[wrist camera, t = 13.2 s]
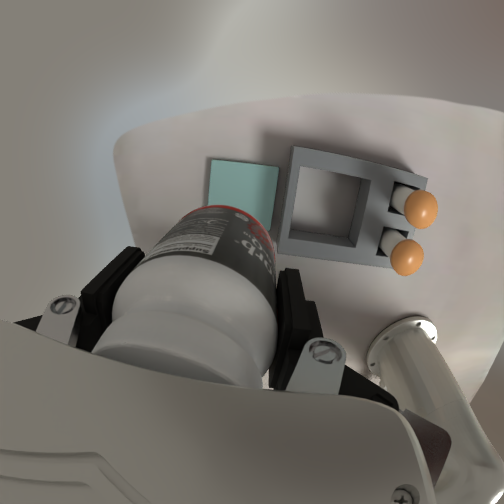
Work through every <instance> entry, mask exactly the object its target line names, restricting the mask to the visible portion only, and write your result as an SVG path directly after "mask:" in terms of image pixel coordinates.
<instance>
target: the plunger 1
mask: <svg viewBox="0 0 504 504" xmlns="http://www.w3.org/2000/svg"><path fill="white" fill-rule="evenodd" d="M389 205H390V206H391V207H393V208H394V209H396V210H397V211H399V212H400V213H402V214H403V215H405V218H406V220H407V221H408V222H409V223H410V224H411V225H412V226H414V227H415V228H418V229H424V228H427V227H428V226H430V225H431V224H432V223H433V222H434V220H435V218H436V216H437V212H438V205H437V201H436V199H435V197H434V196H433V195H432V194H431V193H429V192H427V191H424V190H416V191H415V190H413V189H410V188H408V187H406V186H403V185H401V184H399V183H394V185H393V189H392V194H391V198H390V203H389Z"/></svg>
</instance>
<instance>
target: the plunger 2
mask: <svg viewBox="0 0 504 504" xmlns="http://www.w3.org/2000/svg"><path fill="white" fill-rule="evenodd" d="M378 246H379V247H380V248H381V249H382V250H383V252H384V253H385V254H386V255H387V256H388V257H389V258H390V263H391V266H392V268H393V269H394V270H395V271H396V272H397V273H398V274H399V275H402V276H408V275H411V274H413V273H414V272H416V271H417V270H418V269H419V267H420V266H421V264H422V262H423V257H424V253H423V249H422V247H421V246H420V245H419V244H418V243H417V242H415V241H414V240H411V239H406V238H405V237H404V236H403V235H401V234H400V233H399V232H398V231H397V230H395V229H394V228H390V227H385V226H384V227H383V231H382V234H381V238H380V242H379V245H378Z"/></svg>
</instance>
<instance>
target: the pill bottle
mask: <svg viewBox="0 0 504 504" xmlns="http://www.w3.org/2000/svg"><path fill="white" fill-rule="evenodd" d="M277 342H278V310H277V295H276V271H275V254H274V248H273V244H272V241H271V238H270V236H269V234H268V232H267V231H266V229H265V228H264V227H263V225H262V224H261V223H260V222H259V221H258V220H257V219H256V218H255V217H253V216H252V215H251V214H249V213H248V212H246V211H244V210H242V209H239V208H237V207H233V206H229V205H220V204H216V205H207V206H203V207H200V208H198V209H195V210H193V211H192V212H190V213H188V214H187V215H186V216H184V217H183V218H182V219H181V220H180V221H179V222H178V223H177V224H176V225H175V226H174V227H173V228H172V229H171V230H170V231H169V232H168V233H167V234H166V235H165V236H164V237H163V238H162V239H161V240H160V241H159V242H158V244H157V245H156V246H155V247H154V248H153V249H152V250H151V251H150V252H149V253H148V254H147V255H146V256H145V257H144V258H143V260H142V261H141V262H140V263H139V264H138V265H137V266H136V267H135V268H134V269H133V270H132V272H131V273H130V274H129V275H128V276H127V277H126V279H125V280H124V282H123V283H122V285H121V286H120V288H119V290H118V292H117V294H116V296H115V299H114V303H113V309H112V323H111V324H110V326H109V327H108V328H107V329H106V330H105V332H104V333H103V335H102V336H101V338H100V339H99V341H98V342H97V344H96V346H95V347H94V349H93V350H92V352H91V353H94V354H97V355H100V356H103V357H107V358H110V359H113V360H117V361H120V362H123V363H127V364H131V365H134V366H138V367H142V368H146V369H150V370H154V371H158V372H163V373H167V374H172V375H177V376H181V377H187V378H192V379H197V380H203V381H208V382H214V383H221V384H227V385H234V386H242V387H250V388H260V389H262V387H263V384H262V377H263V376H264V374H265V373H266V372H267V370H268V369H269V367H270V365H271V364H272V361H273V359H274V356H275V353H276V349H277Z"/></svg>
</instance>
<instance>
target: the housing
mask: <svg viewBox="0 0 504 504" xmlns="http://www.w3.org/2000/svg"><path fill="white" fill-rule="evenodd" d="M300 166H303V167H309V168H315V169H320V170H326V171H331V172H336V173H341V174H346V175H351V176H355V177H360V178H361V183H360V188H359V193H358V198H357V203H356V207H355V212H354V216H353V221H352V225H351V229H350V233H349V237H348V238H345V237H338V236H332V235H325V234H318V233H311V232H304V231H297V230H290V225H291V219H292V213H293V207H294V201H295V195H296V189H297V183H298V177H299V170H300ZM427 180H428V178H426V177H423V176H420V175H417V174H414V173H410V172H407V171H404V170H400V169H397V168H393V167H390V166H386V165H382V164H378V163H374V162H370V161H366V160H362V159H358V158H354V157H349V156H345V155H340V154H335V153H331V152H326V151H320V150H315V149H310V148H304V147H298V146H291V153H290V160H289V167H288V174H287V180H286V187H285V194H284V200H283V207H282V213H281V219H280V225H279V232H278V238H277V253H278V254H285V255H292V256H300V257H308V258H315V259H323V260H330V261H338V262H346V263H353V264H361V265H368V266H376V267H383V268H391V269H393V268H392V266H391V263H390V258H389V257H388V256H387V255H386V254H385V253H384V252H383V250H382V249H381V248H380V247H378V245H379V242H380V238H381V234H382V231H383V227H384V226H385V227H390V228H395V229H396V230H397V231H398V232H399V233H400V234H401V235H403V236H404V237H405V238H406V239H411V240H412V239H413V236H414V232H415V229H416V228H415V227H414V226H412V225H411V224H410V223H409V222H408V221H407V220H406V218H405V215H403V214H402V213H400V212H399V211H397V210H396V209H393V208H389V203H390V198H391V194H392V189H393V185H394V181H397V182H401V183H404V184H407V187H408V188H410V189H413V190H415V191H416V190H424V191H425V189H426V185H427Z"/></svg>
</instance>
